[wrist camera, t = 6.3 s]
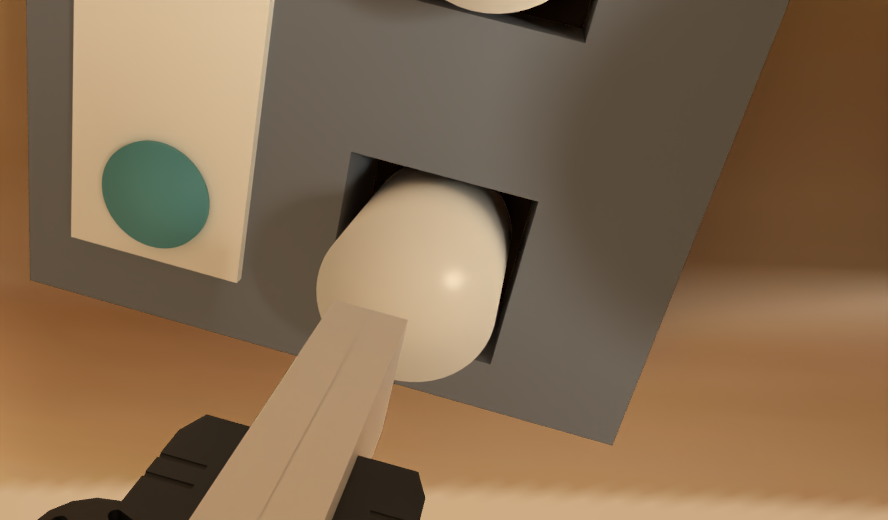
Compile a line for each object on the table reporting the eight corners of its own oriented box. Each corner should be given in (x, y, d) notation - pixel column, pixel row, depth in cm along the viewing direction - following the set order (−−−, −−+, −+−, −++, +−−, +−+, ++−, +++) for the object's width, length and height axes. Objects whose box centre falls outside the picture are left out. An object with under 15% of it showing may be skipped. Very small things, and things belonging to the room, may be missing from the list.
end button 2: (529, 182, 21) (518, 244, 16) (491, 313, 23) (472, 402, 18) (382, 143, 21) (331, 193, 17) (357, 276, 23) (304, 354, 18)
